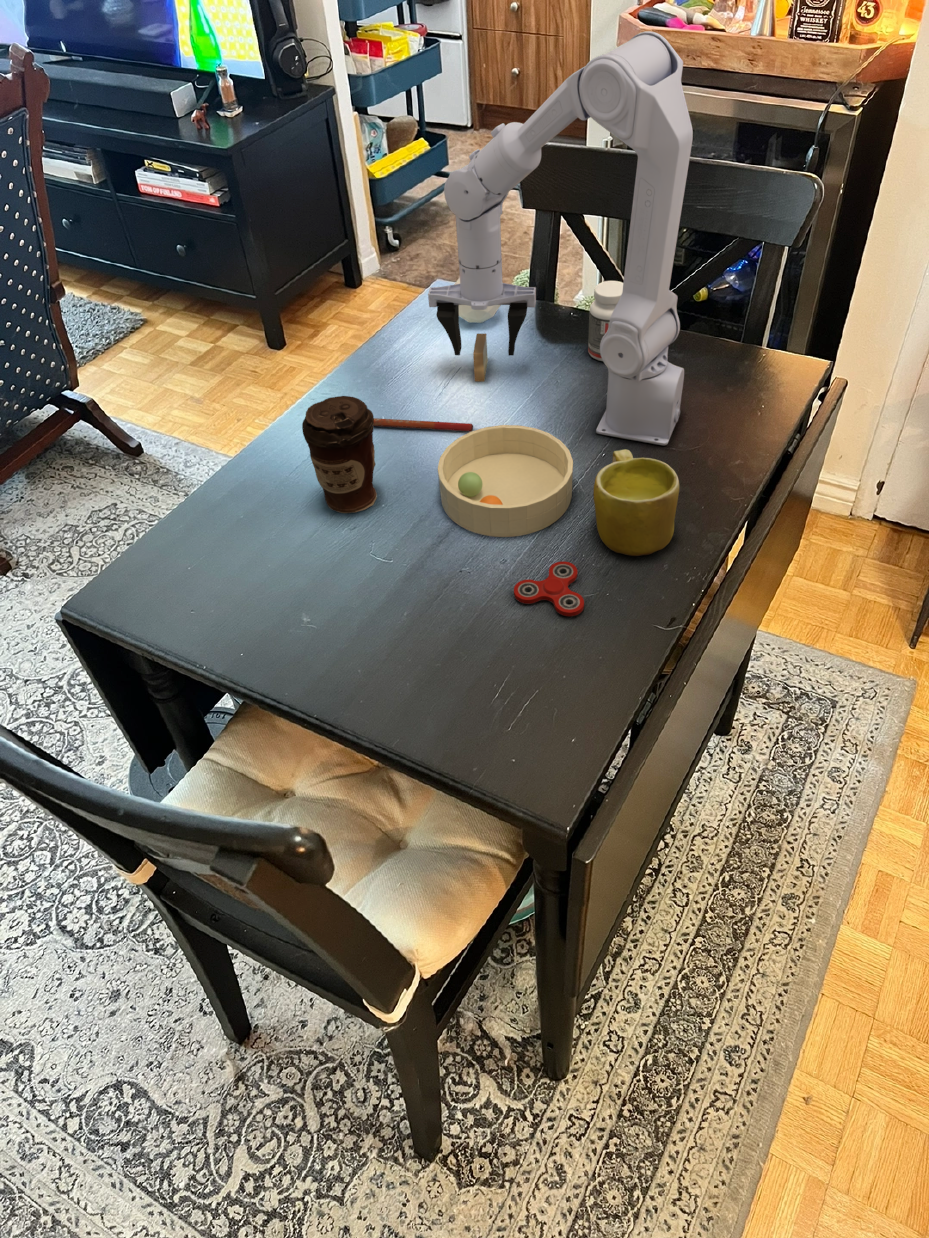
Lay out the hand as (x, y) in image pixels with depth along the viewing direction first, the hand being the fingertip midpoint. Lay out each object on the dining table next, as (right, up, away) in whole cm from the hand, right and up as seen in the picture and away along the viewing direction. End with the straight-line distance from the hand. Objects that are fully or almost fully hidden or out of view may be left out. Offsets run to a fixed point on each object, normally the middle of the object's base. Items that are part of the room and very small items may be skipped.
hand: (484, 351), depth 130 cm
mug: (+17, -27, -22) cm, 39 cm away
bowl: (+2, -23, -17) cm, 28 cm away
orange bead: (0, -25, -22) cm, 33 cm away
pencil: (-11, -12, -6) cm, 18 cm away
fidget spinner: (+7, -35, -29) cm, 46 cm away
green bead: (-2, -22, -19) cm, 29 cm away
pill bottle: (+18, +1, +4) cm, 19 cm away
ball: (-1, +9, +13) cm, 16 cm away
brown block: (0, -2, +2) cm, 3 cm away
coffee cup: (-17, -23, -16) cm, 33 cm away
